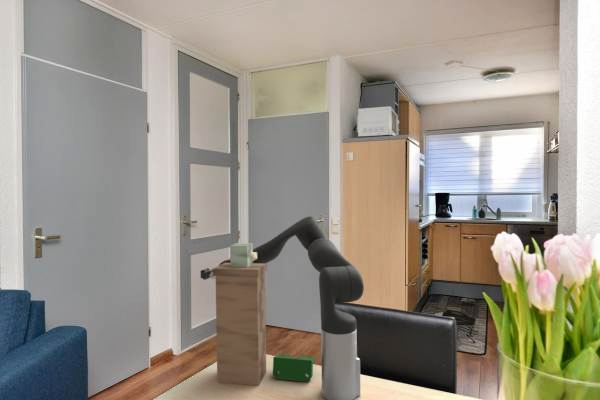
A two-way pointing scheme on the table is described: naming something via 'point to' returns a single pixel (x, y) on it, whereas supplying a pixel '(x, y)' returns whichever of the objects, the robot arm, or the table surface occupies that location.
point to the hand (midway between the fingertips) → (217, 276)
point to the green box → (293, 367)
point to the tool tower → (240, 323)
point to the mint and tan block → (242, 255)
